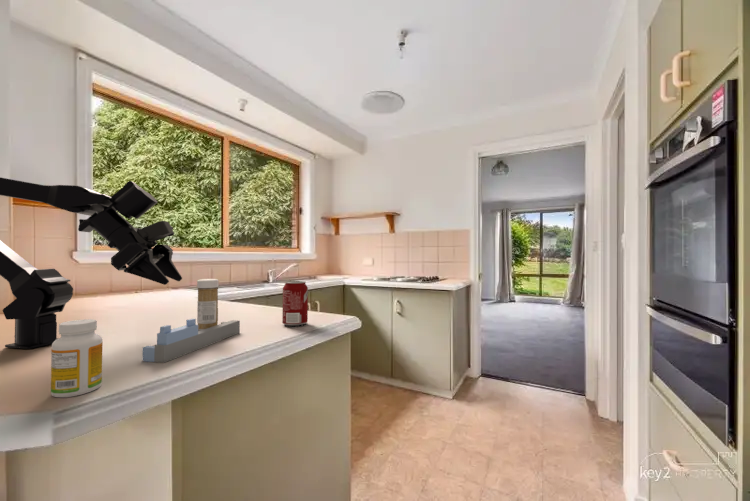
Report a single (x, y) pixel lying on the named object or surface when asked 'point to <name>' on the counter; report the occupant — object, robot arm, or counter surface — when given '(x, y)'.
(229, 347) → the counter surface
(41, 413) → the counter surface
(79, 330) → the supplement bottle
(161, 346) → the grey long notched block
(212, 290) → the sprinkles bottle
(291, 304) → the soda can
